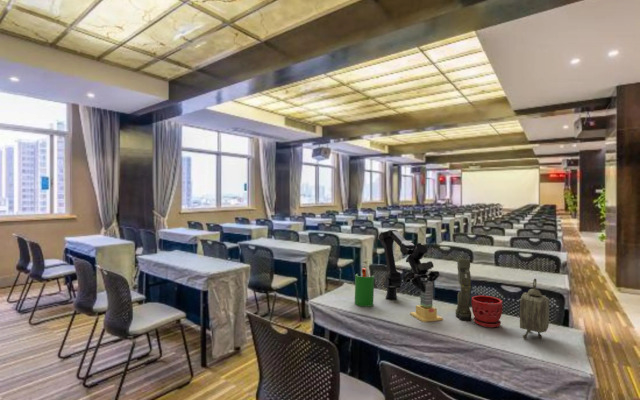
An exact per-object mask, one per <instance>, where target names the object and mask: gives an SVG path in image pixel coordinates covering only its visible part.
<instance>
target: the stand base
mask: <svg viewBox="0 0 640 400" xmlns="http://www.w3.org/2000/svg"><path fill="white" fill-rule="evenodd" d="M437 312H438V308H436V307H435V306H432V307H424V306H422V305H420V304H417V305H415V311H412V312H411V311H410V312H409V315H410V316H412V317H413V318H415V319H417V320H419V321H421V322H423V323H429V322H436V321H443V317H442V316H440V315H438V313H437Z"/></svg>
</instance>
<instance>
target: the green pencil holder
mask: <svg viewBox="0 0 640 400" xmlns="http://www.w3.org/2000/svg"><path fill="white" fill-rule="evenodd" d="M361 274H362V275H361V276H359V273H356V274H355V278H354V279H355V280H354V285H355V286H354V304H355V305H356V306H360V307H371V306H372V307H373V306H374V297H375V296H374V294H375V293H374V292H375V290H374V289H375V275H374V274H373V275H372V276H367V268H365V267H362V269H361Z"/></svg>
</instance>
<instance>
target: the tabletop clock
mask: <svg viewBox="0 0 640 400" xmlns="http://www.w3.org/2000/svg"><path fill="white" fill-rule="evenodd" d="M519 306H520V307H519V328H520V329H522V330H526V332H525V334H523V335H522V338H523V339H524V340H526V339H527V338H528V334H529V333H530V332H535V333H537V338H538V339H542V338H543V335H542V334H543V333H546V332H547V330H548V328H549V326H550V298H549V297H547V296H545V295H543V294H542V293H541V291H540V290H539V289H537V279H536V278H533V282H532V288H530V289H528V291H527V292H523V293H522V295H521V297H520V303H519Z"/></svg>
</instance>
